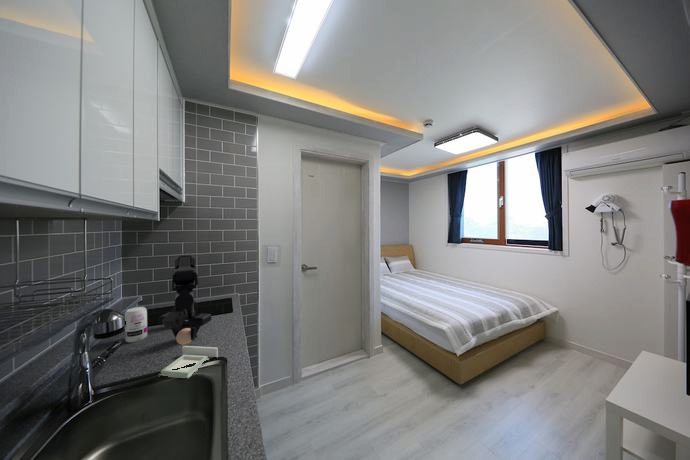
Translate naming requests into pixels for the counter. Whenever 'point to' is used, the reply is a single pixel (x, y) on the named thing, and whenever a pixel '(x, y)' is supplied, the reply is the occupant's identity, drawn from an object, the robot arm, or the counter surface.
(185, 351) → the low wall
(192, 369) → the sage mat
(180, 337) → the ball
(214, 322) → the counter surface
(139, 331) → the supplement can
